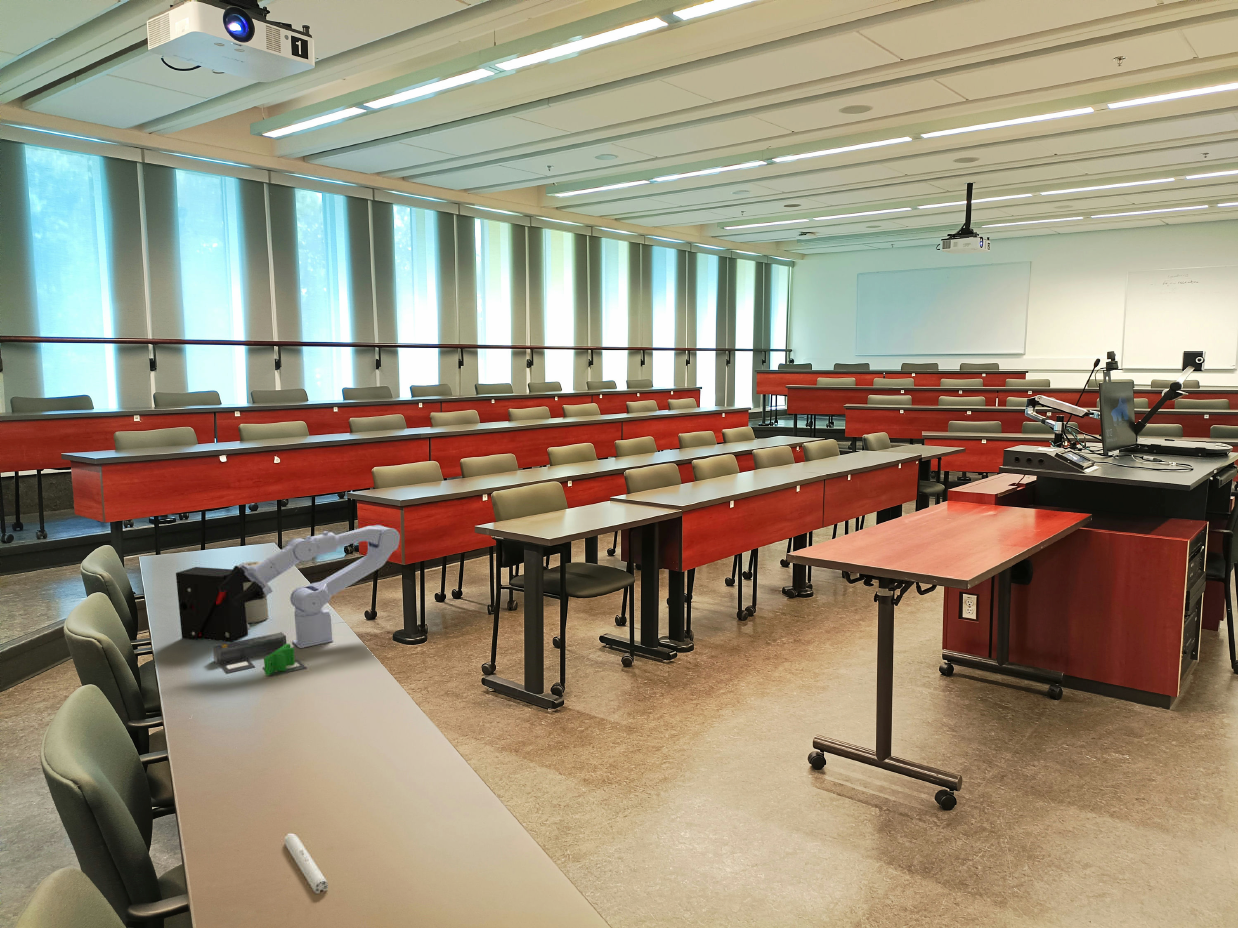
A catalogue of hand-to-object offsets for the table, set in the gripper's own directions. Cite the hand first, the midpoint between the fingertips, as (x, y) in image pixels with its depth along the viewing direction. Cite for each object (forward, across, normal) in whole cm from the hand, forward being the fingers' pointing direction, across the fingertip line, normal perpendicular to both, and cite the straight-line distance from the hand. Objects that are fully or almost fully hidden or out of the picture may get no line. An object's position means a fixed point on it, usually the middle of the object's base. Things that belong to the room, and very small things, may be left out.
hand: (226, 596), depth 224 cm
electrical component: (+4, -18, +27) cm, 33 cm away
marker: (+28, +102, -34) cm, 111 cm away
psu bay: (+2, +6, +18) cm, 19 cm away
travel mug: (-9, -24, +36) cm, 44 cm away
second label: (0, +22, +12) cm, 25 cm away
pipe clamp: (0, +22, +12) cm, 25 cm away
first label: (+8, +11, +13) cm, 19 cm away
